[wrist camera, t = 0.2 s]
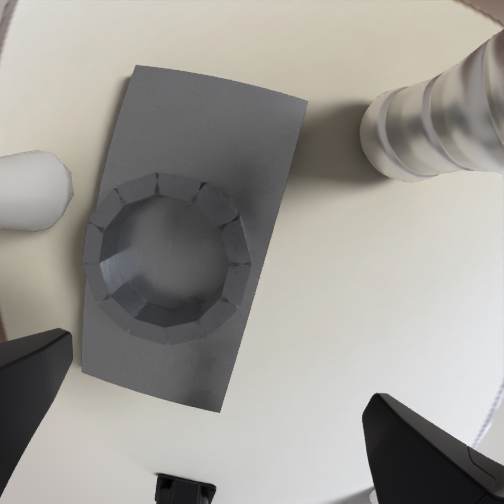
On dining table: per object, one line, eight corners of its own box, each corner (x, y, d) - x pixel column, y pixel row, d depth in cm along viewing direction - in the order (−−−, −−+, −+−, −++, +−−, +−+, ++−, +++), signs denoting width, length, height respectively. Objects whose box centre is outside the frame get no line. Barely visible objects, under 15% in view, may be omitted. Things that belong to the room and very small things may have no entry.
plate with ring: (220, 401, 24) (217, 437, 20) (88, 363, 23) (66, 391, 19) (303, 106, 20) (318, 87, 15) (141, 72, 19) (121, 48, 14)
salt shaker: (49, 241, 21) (-72, 286, 8) (18, 186, 20) (-103, 198, 7) (96, 194, 21) (-35, 208, 8) (61, 137, 19) (-65, 113, 7)
